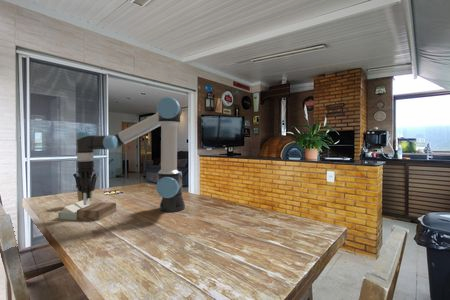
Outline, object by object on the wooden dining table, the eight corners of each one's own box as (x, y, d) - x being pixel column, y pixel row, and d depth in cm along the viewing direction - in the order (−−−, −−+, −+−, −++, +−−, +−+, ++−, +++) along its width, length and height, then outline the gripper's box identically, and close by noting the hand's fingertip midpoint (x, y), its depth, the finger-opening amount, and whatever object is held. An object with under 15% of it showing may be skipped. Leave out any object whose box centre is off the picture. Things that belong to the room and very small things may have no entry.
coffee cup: (97, 204, 150) (97, 181, 149) (87, 208, 140) (86, 184, 140) (83, 203, 151) (83, 181, 150) (72, 208, 141) (71, 183, 141)
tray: (97, 210, 136) (97, 204, 136) (76, 219, 119) (76, 213, 119) (81, 210, 137) (81, 204, 136) (58, 219, 120) (58, 212, 120)
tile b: (73, 204, 127) (70, 208, 127) (64, 206, 121) (61, 211, 121) (81, 209, 126) (79, 214, 127) (73, 212, 120) (71, 217, 121)
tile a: (82, 200, 135) (80, 204, 135) (75, 202, 129) (72, 207, 129) (90, 205, 134) (88, 210, 135) (83, 208, 128) (81, 213, 129)
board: (116, 211, 134) (116, 202, 134) (98, 220, 118) (98, 210, 118) (96, 210, 135) (96, 202, 135) (77, 219, 119) (76, 210, 119)
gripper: (101, 160, 125) (102, 202, 126) (79, 160, 127) (80, 202, 127) (92, 161, 118) (93, 206, 119) (68, 161, 119) (69, 206, 120)
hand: (86, 204), depth 123 cm, fingers closed
